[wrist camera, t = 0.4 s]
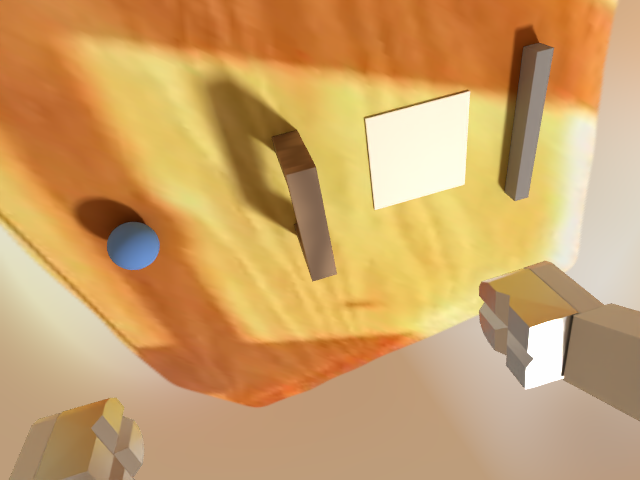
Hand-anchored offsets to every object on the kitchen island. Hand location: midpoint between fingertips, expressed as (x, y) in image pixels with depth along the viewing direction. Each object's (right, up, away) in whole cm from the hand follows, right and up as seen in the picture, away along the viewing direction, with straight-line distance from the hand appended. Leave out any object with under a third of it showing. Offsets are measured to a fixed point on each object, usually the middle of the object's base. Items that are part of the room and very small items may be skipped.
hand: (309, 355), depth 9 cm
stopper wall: (+26, +17, +46) cm, 55 cm away
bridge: (-3, +9, +43) cm, 44 cm away
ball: (-21, +2, +39) cm, 45 cm away
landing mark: (+13, +13, +44) cm, 48 cm away
